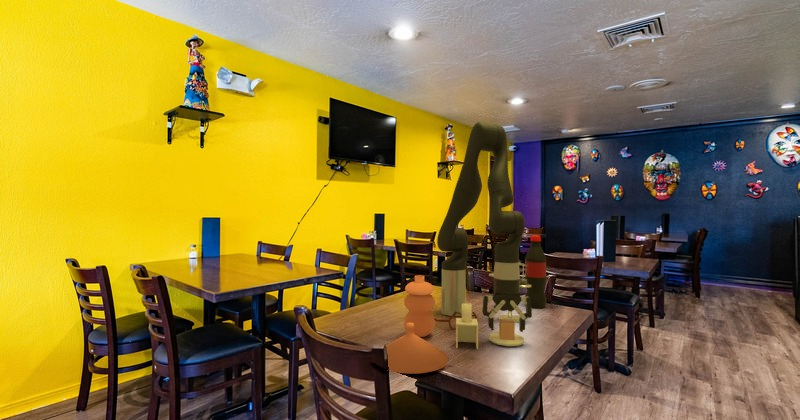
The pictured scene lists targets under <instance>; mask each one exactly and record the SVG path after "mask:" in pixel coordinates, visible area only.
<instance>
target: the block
mask: <svg viewBox="0 0 800 420" xmlns="http://www.w3.org/2000/svg"><path fill="white" fill-rule="evenodd" d="M515 324H516V322H514V321H513V319H498V332H499V336H500V339H505V340H515V334H516V333H515V327H516V325H515Z"/></svg>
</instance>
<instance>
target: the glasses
mask: <svg viewBox="0 0 800 420" xmlns="http://www.w3.org/2000/svg"><path fill="white" fill-rule="evenodd" d="M456 314H460V315H461V316H456ZM472 317H474V319H477V320H478V316H477V314H476V313H475V311H472ZM453 318H455V319H456V318H462V314H461V313H459V312H455V313H454V314H453V315H452V316H449V318H448V319H437V318H435V317H434V320H435V322H440V323H442V322H443V323H448V327H449V329H451V330H453V331H456V327H453V326H452V323H451V321H452V319H453Z"/></svg>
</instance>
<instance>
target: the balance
mask: <svg viewBox="0 0 800 420" xmlns="http://www.w3.org/2000/svg"><path fill="white" fill-rule="evenodd" d="M519 266H521V267H522V278H520V288H526V289H527V288H529V287H531V285H530V284H527V279H525V273H524V271H525V263H522V262H521V261H519ZM488 277H492V278H494V272H491V273H489V274H488ZM507 311H508V310H507ZM512 312H513V311H508V313H507V314H498V315H497V319H498V320H499V319H513V321H514V323H518V324H519V318H520V316H519V315H518V314H517V315H516V314H515V315H514V314H513V313H512Z"/></svg>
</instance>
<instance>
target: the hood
mask: <svg viewBox="0 0 800 420" xmlns="http://www.w3.org/2000/svg"><path fill="white" fill-rule="evenodd" d="M472 312H473V305H472V303H469V302H466V303H463V304H462V316H461V317H462V318H460V317H459V318H456V317H455V328H456V330H455V341H456V342H455V348H456V349H458V348H459V347H458V346H459V345H458V343H459V342H460V343H461V342H462V343H463V342H464V343H475V350H479V324H478V318H477V319H475V318H473V316H472V315H473V314H472Z"/></svg>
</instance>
